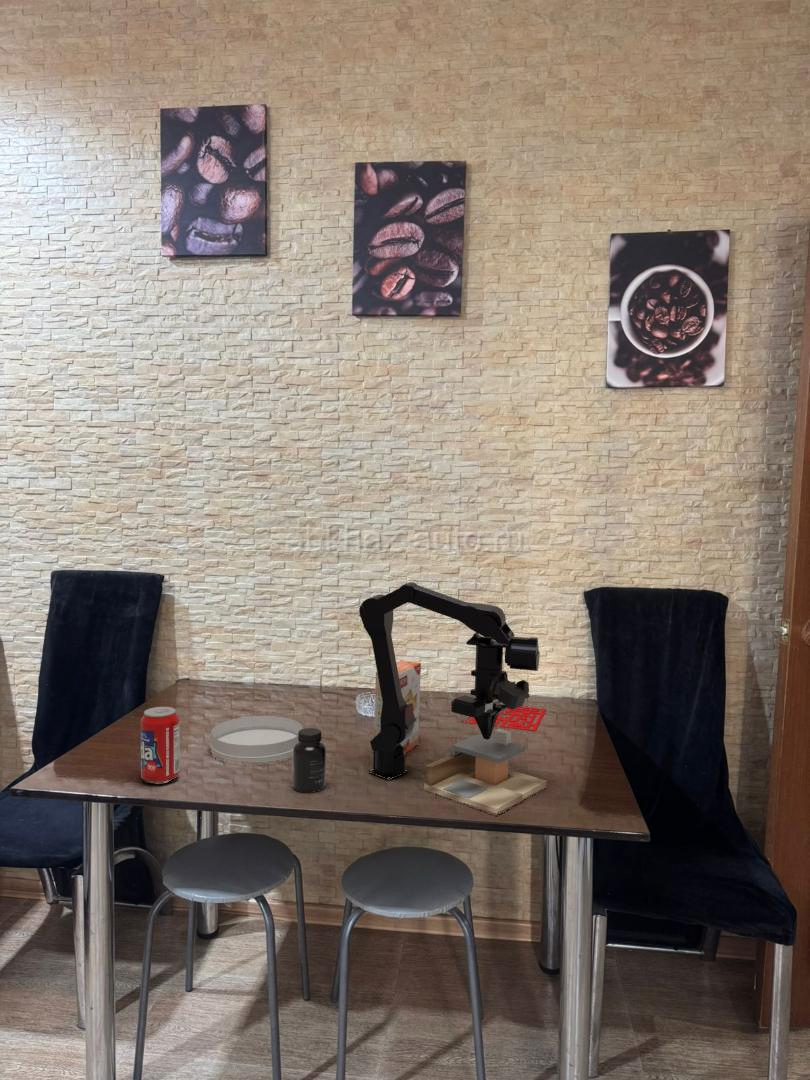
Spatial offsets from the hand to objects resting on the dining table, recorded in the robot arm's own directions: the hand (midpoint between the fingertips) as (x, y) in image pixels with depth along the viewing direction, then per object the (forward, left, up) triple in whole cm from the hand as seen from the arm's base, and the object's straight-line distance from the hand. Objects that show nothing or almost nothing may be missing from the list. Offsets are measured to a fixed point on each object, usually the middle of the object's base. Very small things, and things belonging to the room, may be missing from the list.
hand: (486, 738), depth 160 cm
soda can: (-53, -45, -10) cm, 70 cm away
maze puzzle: (-24, +44, -11) cm, 51 cm away
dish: (-53, -19, -11) cm, 57 cm away
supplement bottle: (-27, -26, -11) cm, 39 cm away
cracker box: (-27, +2, -11) cm, 29 cm away
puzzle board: (+1, -1, -10) cm, 10 cm away
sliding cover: (-1, +2, -4) cm, 5 cm away
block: (0, +2, -10) cm, 11 cm away
